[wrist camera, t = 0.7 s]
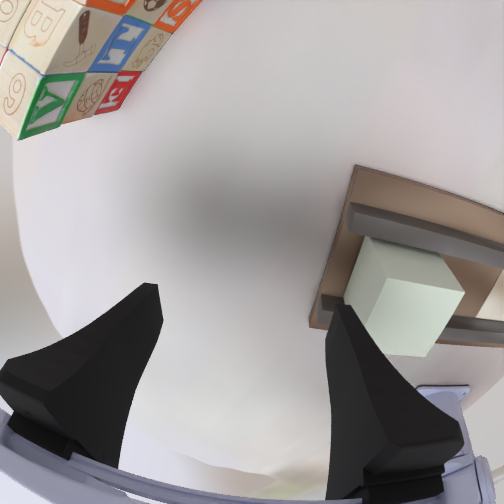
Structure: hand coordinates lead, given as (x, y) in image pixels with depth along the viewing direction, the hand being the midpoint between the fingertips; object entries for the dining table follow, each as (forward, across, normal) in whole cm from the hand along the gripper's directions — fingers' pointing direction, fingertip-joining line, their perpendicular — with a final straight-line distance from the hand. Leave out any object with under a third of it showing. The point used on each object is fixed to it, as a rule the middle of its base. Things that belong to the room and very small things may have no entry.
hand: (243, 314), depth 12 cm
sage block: (+7, -9, +2) cm, 12 cm away
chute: (+8, -16, +3) cm, 18 cm away
